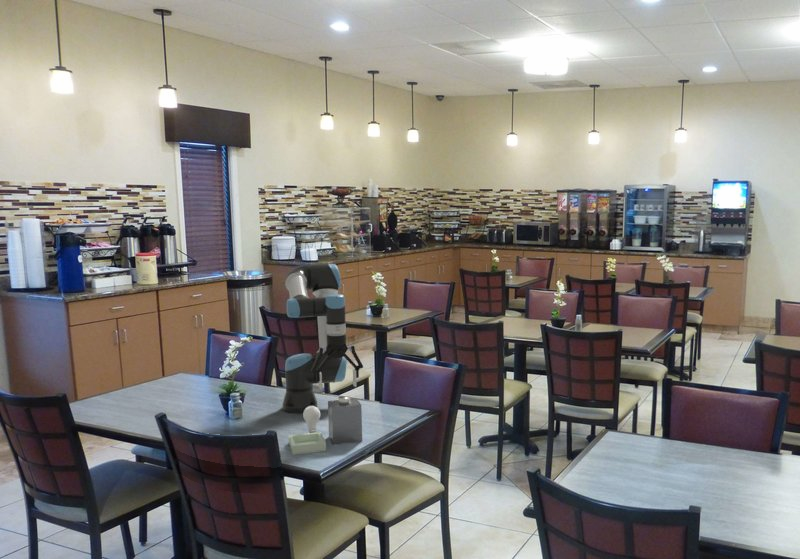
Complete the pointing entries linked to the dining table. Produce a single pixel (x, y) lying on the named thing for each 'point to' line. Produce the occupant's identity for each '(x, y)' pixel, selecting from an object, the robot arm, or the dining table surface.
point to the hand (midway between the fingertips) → (337, 387)
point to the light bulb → (311, 418)
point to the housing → (345, 420)
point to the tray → (307, 443)
